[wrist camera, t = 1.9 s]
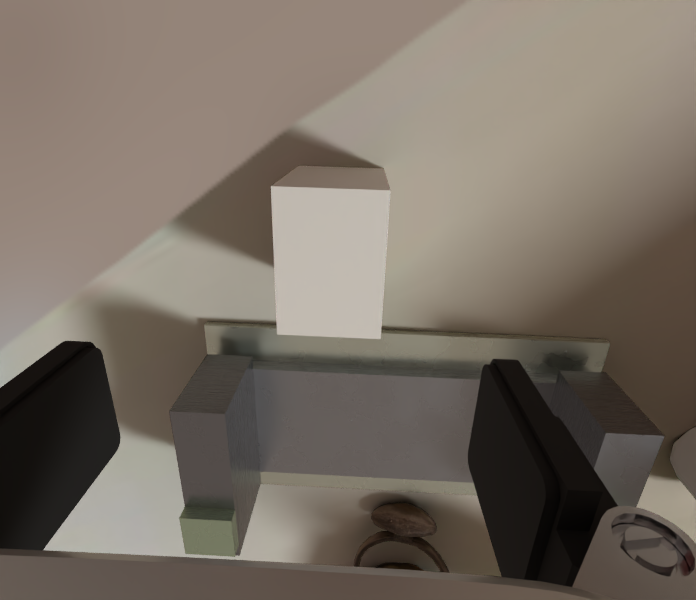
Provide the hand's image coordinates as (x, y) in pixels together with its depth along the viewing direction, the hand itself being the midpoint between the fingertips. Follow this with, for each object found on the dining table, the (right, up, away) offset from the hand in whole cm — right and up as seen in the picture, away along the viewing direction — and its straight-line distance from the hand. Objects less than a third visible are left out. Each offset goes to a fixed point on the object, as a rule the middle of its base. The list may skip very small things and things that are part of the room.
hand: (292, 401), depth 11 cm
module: (+1, +7, +16) cm, 18 cm away
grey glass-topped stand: (+5, -6, +21) cm, 23 cm away
